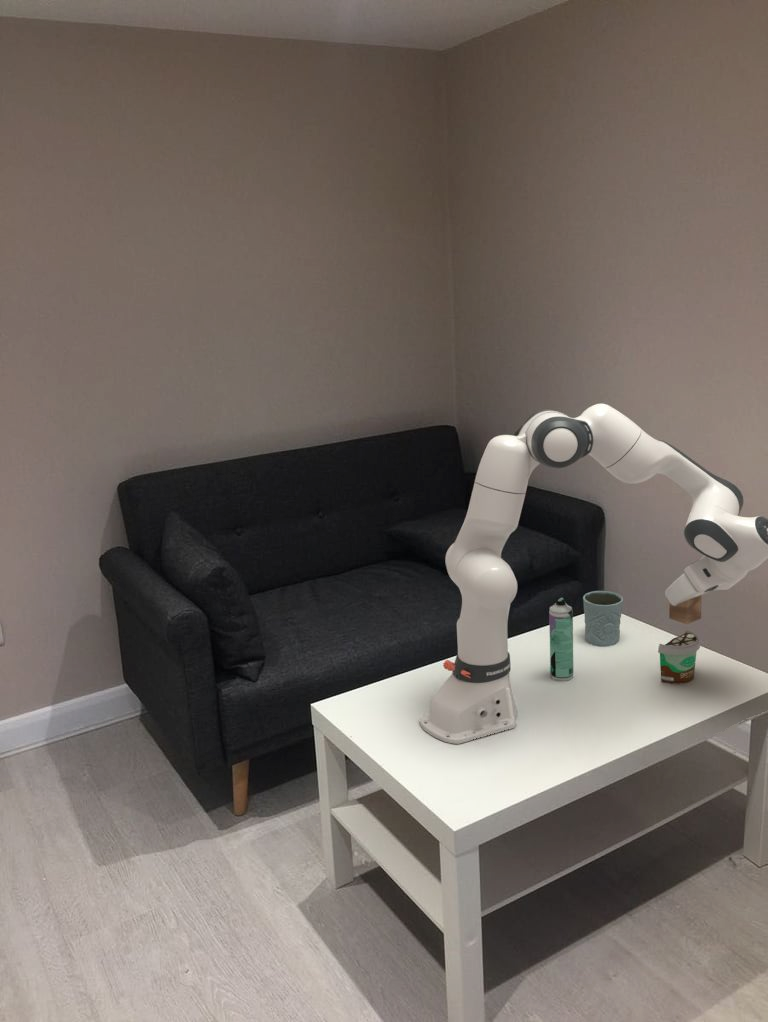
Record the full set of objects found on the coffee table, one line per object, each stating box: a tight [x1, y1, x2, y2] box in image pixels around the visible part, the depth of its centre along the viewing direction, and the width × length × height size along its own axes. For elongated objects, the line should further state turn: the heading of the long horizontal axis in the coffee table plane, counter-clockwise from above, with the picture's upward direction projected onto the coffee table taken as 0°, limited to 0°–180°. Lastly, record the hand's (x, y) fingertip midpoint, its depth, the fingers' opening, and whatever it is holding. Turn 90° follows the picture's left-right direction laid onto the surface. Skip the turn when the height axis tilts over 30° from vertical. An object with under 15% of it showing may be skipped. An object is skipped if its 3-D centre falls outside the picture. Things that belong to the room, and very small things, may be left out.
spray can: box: [548, 597, 574, 682], centre depth 220 cm, size 6×6×20 cm
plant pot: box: [582, 590, 624, 647], centre depth 239 cm, size 10×10×12 cm
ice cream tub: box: [657, 628, 701, 685], centre depth 215 cm, size 12×6×10 cm, turn 131°
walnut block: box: [668, 594, 703, 625], centre depth 212 cm, size 5×5×8 cm
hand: (683, 599), depth 212 cm, fingers closed on walnut block, 5 cm apart
